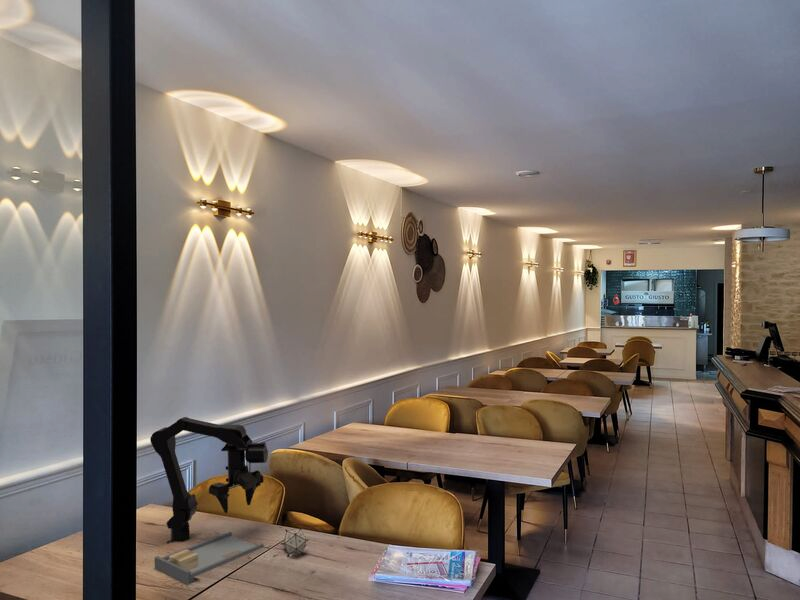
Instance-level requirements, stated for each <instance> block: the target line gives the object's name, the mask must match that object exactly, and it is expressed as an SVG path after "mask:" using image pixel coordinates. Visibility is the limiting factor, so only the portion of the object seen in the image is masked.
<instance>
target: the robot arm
mask: <svg viewBox="0 0 800 600" xmlns="http://www.w3.org/2000/svg"><path fill="white" fill-rule="evenodd" d="M183 431H184V432H188V433H192V434H193V433H194V434H197V435H198V434H199V435H203V436H208V437H212V438H216V439H218V440H220V441H221V442H223V443H225V445H224V446H223V447H222V448H221V449H220V450H221V452H227V466H226V465H225V470H227V478H225V482H226V483H223V482H216V483H212V484H210V486H209V488H208V494H210V495H212V496H214V497H215V498H216V499H217V501H218V502H219V503H220V506H221V508H222V510H223V512H224V513H225V514H227V513H229V512H228V510H229V506H228V505H229V502H228V500H229V499H228V498H229V497H230V493H229V492H230V490H231V489H233V488H237V487H241V488H242V489H243V490H244V492H245V493H244V494H245V502H246V505H247V506H250V505H251V503H252V499H253V497H254V494H255V491H256V490H257V489H258V487H260V486H261V484H262V483H263V484H264V482H265V481H264V479H265V478H264V476H263V475H264V474H262V473H261V472H260V471H259V470H253V471H249V467H248V465H246V462H248V463H249V464H265V463H267V462H268V458H269V457H268V456H269V449H268V447H267V442H266V441H263V442H262V441H261V442H253V440H252V439H251V437H249V435H248V434H247V431H246V428H245V426H243V425H242V424H217V423H213V422H209V421H203V420H198V419H194V418H189V417H188V416H183V417H181V418H179V419H177V420H176V421H175V422H174V423H172V424H171V425H169V426H165V427H163V428H160V429H158V430H156V431H154V432H153V433H152V434H151V436H150V437H149V438H150V439H149V440H150V443H151V446H152V447H153V449H154V452H155V453H157V455H158V456H159V457H160V458H161V462H162V465H163V468H164V471H165V475H166V479H167V481H168V484H169V487H170V490H171V494H172V507H171V508H172V514H173V515H172V516H171V517H170V518H169V519H168V520H167V521H166V522H165V523H166V526H167V529H170V539H169V540H167V541H166V543H167V544H171V543H174V542H182V543H183V542H186V541H189V540H190V539H191V536H190V524H189V522H190V521H191V520H192V517H193V516H194V515H195V514H196V513H197V510H198V505H199V503H198V502H197V498H196V495H195V493H192V494H191V493H189V491H188V489H187V487H186V483H185V480H184V476H183V474H182V470H181V467H180V464H179V461H178V457H177V454H176V444H177V443H176V441H177V440H176V436H177V435H178V434H180V433H181V432H183Z"/></svg>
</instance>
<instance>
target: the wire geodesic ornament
mask: <svg viewBox="0 0 800 600" xmlns="http://www.w3.org/2000/svg"><path fill="white" fill-rule="evenodd" d="M302 528H303V527H302V526H300V528H299V529H293V530H288V529H287V528H285V532H286V533H285V536H284V538H283V541H282V542H281V543H280V545H281V546H283V547H284V549H285V551H286V552H287V553H288V554H287V555H286V557H287V558H289V556H290V555H297V554H302V555H304V554H305V553H304V550H305V546H306V543H307V542H308V541H309V539H307V538H306V536H305V535H304V533H303V531H302Z"/></svg>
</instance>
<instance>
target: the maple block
mask: <svg viewBox="0 0 800 600" xmlns="http://www.w3.org/2000/svg"><path fill="white" fill-rule="evenodd" d="M185 549H186V548H185ZM180 551H181V550H180ZM168 561H170V562H172V563H174V564H176V565H178V566H181V567H183V568H185V569H187V570H191V569H193V568H196V567H198V554H197V553H195V552H192V551H190V550H187V549H186V550H184V551H181V552H179V553H176V554H174V555H171V556H169V560H168Z"/></svg>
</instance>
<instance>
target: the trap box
mask: <svg viewBox="0 0 800 600" xmlns="http://www.w3.org/2000/svg"><path fill="white" fill-rule="evenodd" d="M263 548H264V543H259V544H254V543H251V542H249V541H245V540H244V539H243V540H242V539H240V538H237V537H234V536H233V533H232V532H231V531H229V532H226V533H223V534H221V535H218V536H215V537H212V538H210V539H207V540H204V541H202V542H200V543H197V544H193V545H191V546H189V547H187V548H183V549H181V550H178V551H175V552H174V553H170V554H168V555H165V556H163V557H161V556H158V555H157V556H154V569H155V570H156V571H160V572H161V573H163V574H166V575H167V576H169V577H172V578H174V579H175V580H177V581H179V582H182V583H183V584H186V585H190V584H192V583H194V582H197V581H199V580H200V579H199V578H198V577H197V576H199V575H202V574H204V573H207V572H209V571H211V570H214V569H216V568H217V567H220V566H223V565H226V564H229V562H231V561H235V560H236V559H239V558H241V557H243V556H247V555H248V554H251V553H254V552H255V551H259V550H261V549H263ZM186 549H187V550H190V551H192V552H195V553H197V554H198V566H196V567H193V568H191V569H189V570H187V569H185V568H183V567H181V566H178V565H176V564H174V563H172V562H170V561H169V556H171V555H174V554H176V553H179V552H181V551H184V550H186ZM237 551H238V552H237ZM234 552H237V553H234ZM232 553H234V554H232ZM230 554H232V555H230ZM227 555H229V556H228V557H226V558H225V557H224V556H227Z"/></svg>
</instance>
